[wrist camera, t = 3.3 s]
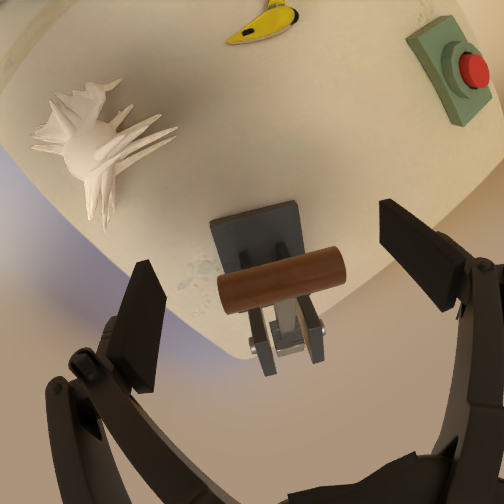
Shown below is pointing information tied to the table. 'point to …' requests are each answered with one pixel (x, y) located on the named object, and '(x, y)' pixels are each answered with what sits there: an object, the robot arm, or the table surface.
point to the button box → (449, 68)
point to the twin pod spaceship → (267, 23)
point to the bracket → (262, 252)
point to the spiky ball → (95, 143)
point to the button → (474, 70)
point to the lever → (282, 290)
